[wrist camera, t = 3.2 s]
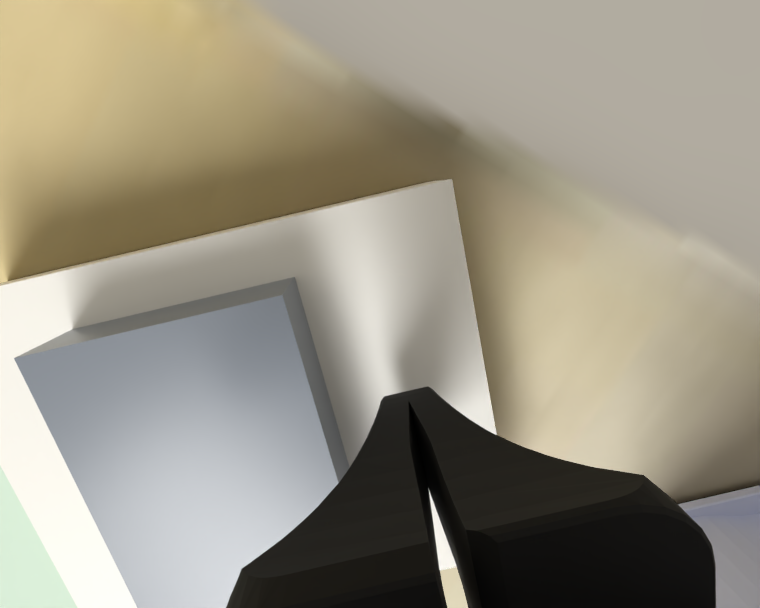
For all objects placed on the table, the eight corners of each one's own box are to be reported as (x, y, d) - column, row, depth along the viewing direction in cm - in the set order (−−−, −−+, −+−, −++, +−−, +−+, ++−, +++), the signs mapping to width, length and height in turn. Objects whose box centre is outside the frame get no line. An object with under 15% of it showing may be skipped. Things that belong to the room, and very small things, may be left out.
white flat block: (431, 181, 14) (451, 179, 11) (489, 490, 17) (517, 552, 14) (6, 281, 14) (-87, 306, 11) (143, 570, 17) (100, 649, 14)
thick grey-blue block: (294, 276, 11) (282, 294, 9) (372, 548, 14) (375, 606, 12) (72, 329, 11) (14, 358, 9) (188, 590, 14) (161, 656, 12)
